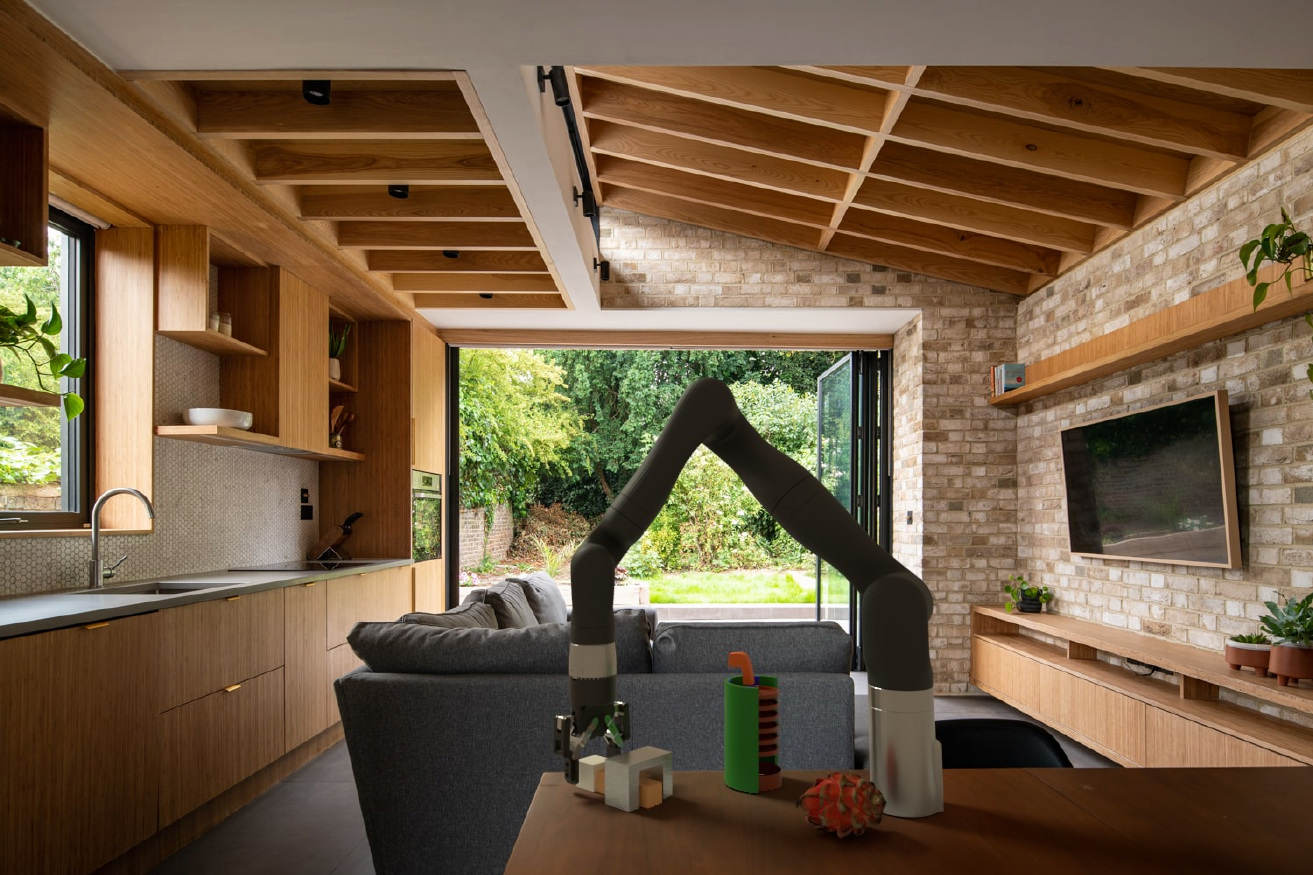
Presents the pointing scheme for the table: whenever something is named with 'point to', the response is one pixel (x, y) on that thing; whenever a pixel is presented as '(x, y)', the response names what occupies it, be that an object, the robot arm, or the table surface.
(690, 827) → the table surface
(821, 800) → the dragon fruit
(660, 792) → the plug
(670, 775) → the block
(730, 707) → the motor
